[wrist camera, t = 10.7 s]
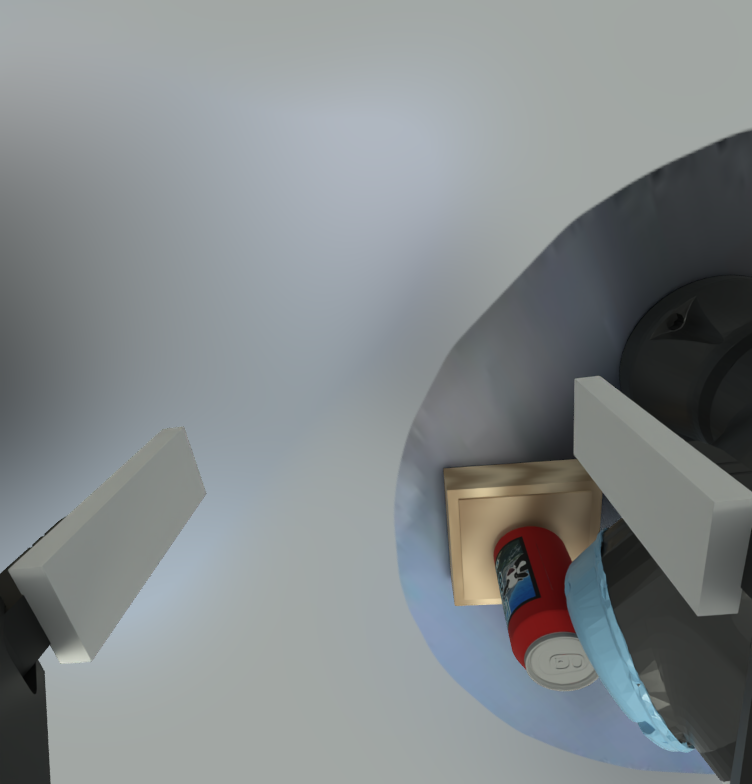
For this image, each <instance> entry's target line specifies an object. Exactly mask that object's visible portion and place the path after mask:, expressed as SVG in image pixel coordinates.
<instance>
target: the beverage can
mask: <svg viewBox="0 0 752 784" xmlns="http://www.w3.org/2000/svg"><path fill="white" fill-rule="evenodd" d="M493 557H494V564H495V569H496V574H497V580H498V585H499V590H500V595H501V600H502V605H503V610H504V614H505V619H506V624H507V628H508V633H509V638H510V642H511V647H512V651H513V653H514V655H515V657H516V659H517V660H518V661H519V662H520V664H521V665H522V666H523V667H524V668H525V669H526V670H527V673H528V675H529V676H530V677H531V679H532V680H533V681H535V682H536V683H537V684H539V685H541V686H543V687H545V688H548V689H551V690H556V691H573V690H578V689H581V688H584V687H586V686H588V685H590V684H591V683H593V682H594V681H595V680H596V679H597V678H598V677H599V676H598V675H597V673H596V671H595V670H594V668H593V666H592V664H591V662H590V661H589V659H588V657H587V655H586V653H585V651H584V649H583V647H582V645H581V643H580V641H579V639H578V636H577V634H576V632H575V629H574V627H573V624H572V621H571V618H570V615H569V612H568V608H567V599H566V595H565V584H564V583H565V576H566V573H567V570H568V568H569V566H570V564H571V563H572V560H571V558H570V556H569V553H568V551H567V549H566V547H565V545H564V543H563V541H562V540H561V539H560V538H559V536H557V535H556V534H555V533H553V532H552V531H550V530H548V529H545V528H542V527H536V526H526V527H520V528H517V529H514V530H512V531H510V532H508V533H506V534H505V535H504V536H503V537H502V538H501V539H500V540H499V541H498V543H497V544H496V546H495V549H494V555H493Z"/></svg>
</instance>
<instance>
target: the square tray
mask: <svg viewBox="0 0 752 784" xmlns="http://www.w3.org/2000/svg"><path fill="white" fill-rule="evenodd" d="M443 470H444V484H445V498H446V513H447V527H448V541H449V555H450V569H451V580H452V588H453V595H454V602H455V606H464V605H488V604H502V600H501V595H500V590H499V585H498V580H497V574H496V569H495V564H494V557H493V555H494V549H495V546H496V544H497V543H498V541H499V540H500V539H501V538H502V537H503V536H504V535H505V534H506V533H508V532H510V531H512V530H514V529H517V528H520V527H526V526H536V527H542V528H545V529H548V530H550V531H552V532H553V533H555V534H556V535H557V536H559V538H560V539H561V540H562V541H563V543H564V545H565V547H566V549H567V551H568V553H569V556H570V558H571V560H572V562H573V561H574V560H575V559H576V558H577V557H578V556H579V555H580V554H581V553H582V552H583V551H584V550H585V549H587V548H588V547H589V546H590V545H591V544H592V543H593V542H594V541H595V540H596V538H597V535H598V533H599V532H600V519H601V505H602V491H601V489H600V488H599V487H598V485H597V484H596V483H595V481H594V480H593V479H592V478H591V476H590V475H589V474H588V472H587V471H586V470H585V468H584V467H583V466H582V464H581V463H580V462H579V461H578V459H570V460H556V461H542V462H528V463H514V464H499V465H485V466H471V467H457V468H443Z"/></svg>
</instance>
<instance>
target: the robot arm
mask: <svg viewBox="0 0 752 784" xmlns="http://www.w3.org/2000/svg"><path fill="white" fill-rule="evenodd" d="M620 387H621V392H622V393H621V392H620V391H619V390H618V389H616V388H615V387H614V386H612V385H611V384H610V383H608V382H607V381H606V380H604V379H603V378H602V377H600V376H593V377H585V378H576V379H575V387H574V455H575V457H576V458H577V459H578V461H579V462H580V463H581V464H582V466H583V467H584V468H585V470H586V471H587V472H588V474H589V475H590V476H591V478H592V479H593V480H594V481H595V483H596V484H597V485H598V487H599V488H600V489H601V491H602V492H603V493H604V495H605V496H606V497H607V499H608V500H609V501H610V502H611V504H612V505H613V506H614V508H615V509H616V510H617V512H618V513H619V514H620V516H621V517H622V518H621V519H620V520H619V521H617V522H616V523H615V524H614V525H613V526H611V527H610V528H604V529H603V530H601V531H600V532H599V533H598V535H597V538H596V540H595V541H594V542H593V543H592V544H591V545H590V546H589V547H588V548H587V549H585V550H584V551H583V552H582V553H581V554H580V555H579V556H578V557H577V558H576V559H575V560H574V561H573V562H572V563H571V564H570V566H569V568H568V570H567V573H566V576H565V583H564V584H565V595H566V599H567V608H568V612H569V615H570V618H571V621H572V624H573V627H574V629H575V632H576V634H577V636H578V639H579V641H580V643H581V645H582V647H583V649H584V651H585V653H586V655H587V657H588V659H589V661H590V662H591V664H592V666H593V668H594V670H595V671H596V673H597V675H598V676H599V678H600V679H601V681H602V683H603V684H604V686H605V687H606V689H607V690H608V692H609V693H610V695H611V696H612V698H613V699H614V700H615V702H616V703H617V704H618V706H619V707H620V708H621V709H622V711H623V712H624V713H625V714H626V715H627V717H628V718H629V719H630V720H631V721H633V722H637V723H638V725H639V727H640V729H641V730H642V732H643V734H644V735H645V736H646V737H648V738H649V739H650V740H651V741H652V742H654V743H655V744H656V745H658V746H660V747H661V748H663V749H666V750H669V751H674V752H677V751H682V752H686V753H688V752H690V751H691V750H693V749H694V748H696V749H697V751H698V752H699V753H700V754H701V756H702V757H703V758H704V760H705V761H706V762H707V763H708V765H709V766H710V767H711V769H712V770H713V771H714V773H715V774H716V775H717V776H718V778H719V779H720V780H721V781H722V782H723V783H724V784H752V277H746V276H737V275H725V276H716V277H710V278H706V279H702V280H699V281H696V282H693V283H690V284H688V285H686V286H684V287H682V288H680V289H678V290H676V291H674V292H672V293H671V294H669V295H668V296H666V297H665V298H663V299H662V300H661V301H659V302H658V303H657V304H656V305H655V306H654V307H653V308H652V309H650V310H649V311H648V312H647V314H646V315H645V316H644V317H643V318H642V319H641V321H640V322H639V323H638V324H637V326H636V327H635V329H634V330H633V332H632V334H631V335H630V337H629V339H628V341H627V344H626V346H625V349H624V351H623V355H622V359H621V364H620ZM205 495H206V491H205V488H204V485H203V482H202V479H201V476H200V473H199V470H198V467H197V464H196V461H195V458H194V455H193V452H192V449H191V447H190V443H189V440H188V437H187V434H186V431H185V428H184V427H177V428H167V429H162V430H161V431H160V432H159V433H158V434H157V435H156V436H155V437H154V438H153V439H152V440H150V441H149V442H148V443H147V444H146V445H145V446H144V447H143V448H141V450H139V451H138V452H137V453H136V454H135V455H134V456H133V457H132V458H130V460H128V461H127V462H126V463H125V464H124V465H123V466H122V467H121V468H119V469H118V470H117V471H116V472H115V473H114V474H113V475H112V476H111V477H110V478H108V479H107V480H106V481H105V482H104V483H103V484H102V485H101V486H100V487H99V488H97V489H96V490H95V491H94V492H93V493H92V494H91V495H90V496H89V497H88V498H86V499H85V500H84V501H83V502H82V503H81V504H80V505H79V506H78V507H76V508H75V509H74V510H73V511H72V512H71V513H70V514H69V515H67V516H66V517H64V518H63V519H61V520H60V521H58V522H57V523H56V524H55V525H54V526H53V527H52V528H50V529H49V530H48V531H47V532H46V533H45V535H44V536H42V537H40V538H39V539H38V540H37V541H36V542H35V543H34V544H33V545H32V547H31V548H28V549H27V550H26V551H25V552H24V553H23V554H22V555H20V557H18V558H17V559H16V560H15V561H14V562H13V563H12V564H10V565H9V566H8V567H7V568H6V569H5V570H4V571H3V572H2V573H1V574H0V784H50V766H49V748H48V729H47V709H46V691H45V675H44V674H45V672H44V670H43V668H42V666H41V664H40V662H39V661H38V659H39V658H40V656H41V655H42V654H43V653H44V651H45V650H46V649H47V648H48V646H49V645H50V646H51V648H52V649H53V651H54V653H55V655H56V656H57V658H58V660H59V662H60V664H65V663H78V662H91V661H92V660H93V659H94V657H95V656H96V654H97V653H98V651H99V650H100V649H101V647H102V646H103V644H104V643H105V641H106V640H107V638H108V637H109V635H110V634H111V633H112V631H113V629H114V628H115V627H116V625H117V624H118V622H119V621H120V619H121V618H122V616H123V615H124V613H125V612H126V610H127V609H128V608H129V606H130V605H131V603H132V602H133V600H134V599H135V597H136V596H137V594H138V593H139V592H140V590H141V589H142V587H143V586H144V584H145V583H146V581H147V580H148V578H149V577H150V576H151V574H152V573H153V571H154V570H155V568H156V567H157V565H158V564H159V562H160V561H161V559H162V558H163V557H164V555H165V554H166V552H167V550H168V549H169V548H170V546H171V545H172V543H173V542H174V540H175V539H176V537H177V536H178V535H179V533H180V532H181V530H182V529H183V527H184V526H185V524H186V523H187V521H188V520H189V518H190V517H191V516H192V514H193V512H194V511H195V510H196V508H197V507H198V505H199V504H200V502H201V501H202V499H203V498H204V497H205Z"/></svg>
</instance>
